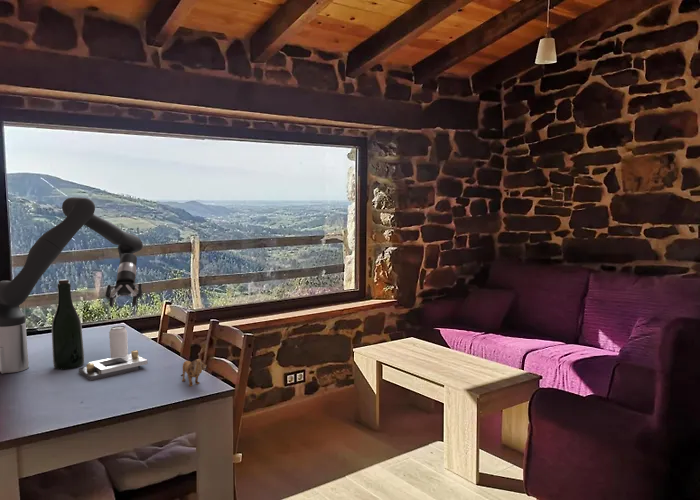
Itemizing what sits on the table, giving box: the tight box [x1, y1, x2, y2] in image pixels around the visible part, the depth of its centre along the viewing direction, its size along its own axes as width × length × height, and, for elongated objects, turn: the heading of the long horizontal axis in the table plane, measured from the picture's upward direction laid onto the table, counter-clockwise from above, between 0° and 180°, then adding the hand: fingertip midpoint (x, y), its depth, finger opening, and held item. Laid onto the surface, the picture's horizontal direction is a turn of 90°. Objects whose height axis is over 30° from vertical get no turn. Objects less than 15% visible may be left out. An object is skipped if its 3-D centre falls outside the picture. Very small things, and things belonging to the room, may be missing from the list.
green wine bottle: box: [51, 278, 85, 370], centre depth 205 cm, size 10×10×33 cm
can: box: [108, 325, 129, 358], centre depth 217 cm, size 6×6×12 cm
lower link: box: [78, 362, 139, 381], centre depth 199 cm, size 16×13×4 cm
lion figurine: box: [180, 358, 207, 387], centre depth 185 cm, size 15×5×9 cm, turn 45°
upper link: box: [88, 349, 148, 374], centre depth 201 cm, size 16×13×4 cm
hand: (122, 306), depth 227 cm, fingers open, 8 cm apart
